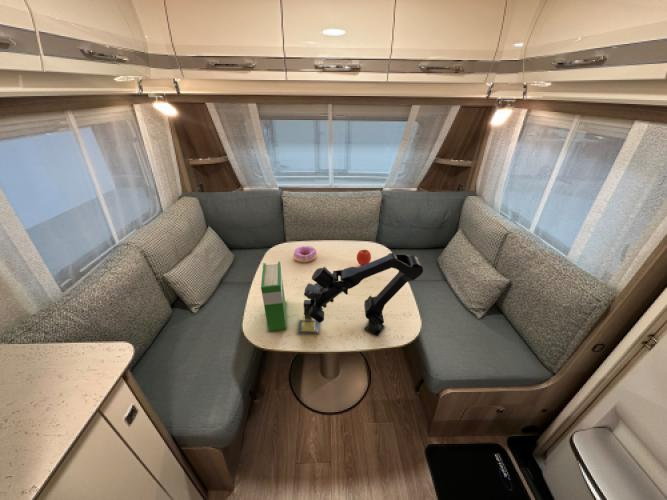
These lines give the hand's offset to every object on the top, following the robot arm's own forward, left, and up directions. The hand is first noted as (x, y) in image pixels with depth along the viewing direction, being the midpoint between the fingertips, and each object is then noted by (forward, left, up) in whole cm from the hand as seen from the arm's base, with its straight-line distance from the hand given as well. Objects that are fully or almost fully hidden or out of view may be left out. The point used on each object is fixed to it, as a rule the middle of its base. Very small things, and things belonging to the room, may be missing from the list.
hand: (304, 312), depth 113 cm
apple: (+57, +3, -9) cm, 58 cm away
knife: (+1, -1, -8) cm, 8 cm away
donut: (+45, +38, -9) cm, 59 cm away
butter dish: (+1, -1, -9) cm, 9 cm away
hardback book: (-2, +16, -9) cm, 18 cm away
